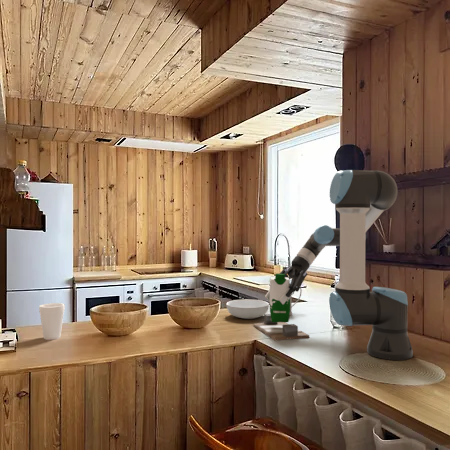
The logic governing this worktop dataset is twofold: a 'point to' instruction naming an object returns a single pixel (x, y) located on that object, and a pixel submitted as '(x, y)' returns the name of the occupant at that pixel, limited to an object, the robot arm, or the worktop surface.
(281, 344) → the worktop surface
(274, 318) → the soya milk
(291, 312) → the white pitcher
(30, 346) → the worktop surface
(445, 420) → the worktop surface
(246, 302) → the serving bowl
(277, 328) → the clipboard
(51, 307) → the foam cup
